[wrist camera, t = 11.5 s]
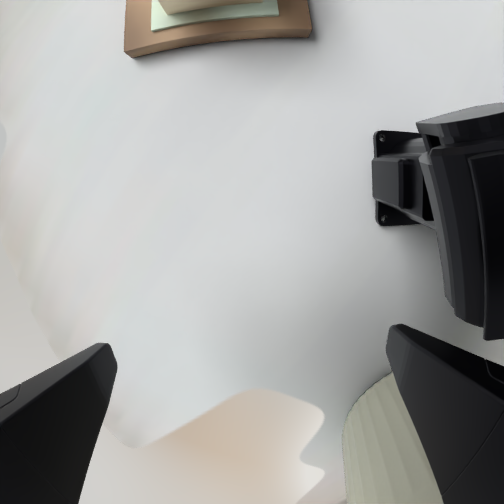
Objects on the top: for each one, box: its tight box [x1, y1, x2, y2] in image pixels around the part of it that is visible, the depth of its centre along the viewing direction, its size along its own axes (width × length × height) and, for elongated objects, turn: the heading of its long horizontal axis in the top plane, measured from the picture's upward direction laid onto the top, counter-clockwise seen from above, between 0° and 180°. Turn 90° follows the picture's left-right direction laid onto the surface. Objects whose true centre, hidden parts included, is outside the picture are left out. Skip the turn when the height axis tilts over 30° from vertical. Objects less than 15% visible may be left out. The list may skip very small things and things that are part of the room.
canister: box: [342, 372, 444, 504], centre depth 15 cm, size 18×18×21 cm
